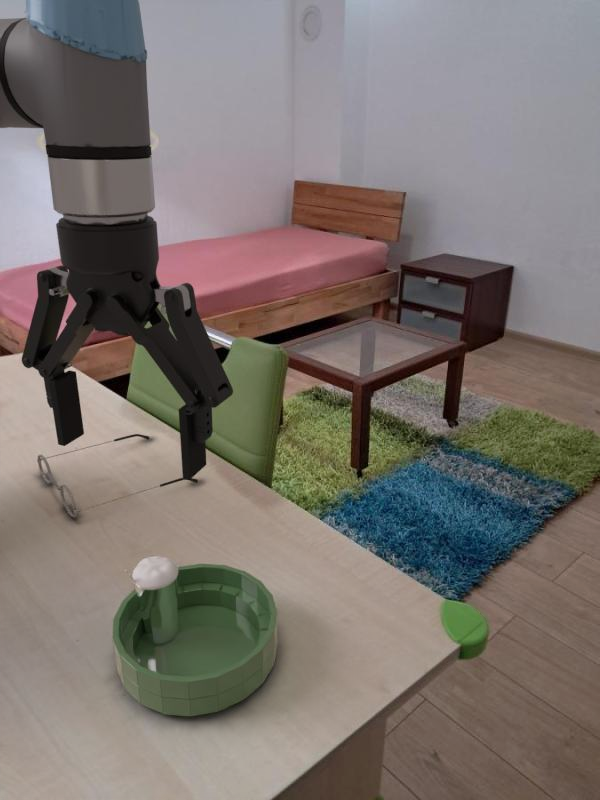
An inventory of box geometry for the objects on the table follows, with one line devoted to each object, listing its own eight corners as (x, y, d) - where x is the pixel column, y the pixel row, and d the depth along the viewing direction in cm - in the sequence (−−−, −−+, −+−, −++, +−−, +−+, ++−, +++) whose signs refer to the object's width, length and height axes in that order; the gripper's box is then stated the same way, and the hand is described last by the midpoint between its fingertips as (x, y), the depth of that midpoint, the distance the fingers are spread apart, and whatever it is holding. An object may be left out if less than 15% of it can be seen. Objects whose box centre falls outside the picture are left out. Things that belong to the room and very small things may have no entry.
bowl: (83, 685, 62) (76, 647, 60) (176, 583, 75) (173, 549, 73) (229, 745, 56) (226, 705, 54) (300, 623, 70) (301, 587, 68)
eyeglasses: (36, 471, 99) (32, 448, 97) (148, 441, 109) (147, 420, 108) (75, 526, 86) (71, 501, 84) (199, 486, 96) (198, 463, 95)
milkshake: (125, 633, 67) (115, 557, 63) (171, 611, 70) (164, 537, 66) (144, 660, 64) (134, 581, 60) (191, 636, 67) (184, 560, 63)
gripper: (273, 222, 48) (271, 465, 57) (19, 198, 56) (52, 412, 65) (224, 238, 41) (231, 508, 50) (-53, 208, 50) (-5, 444, 59)
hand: (130, 454), depth 58 cm, fingers open, 13 cm apart
